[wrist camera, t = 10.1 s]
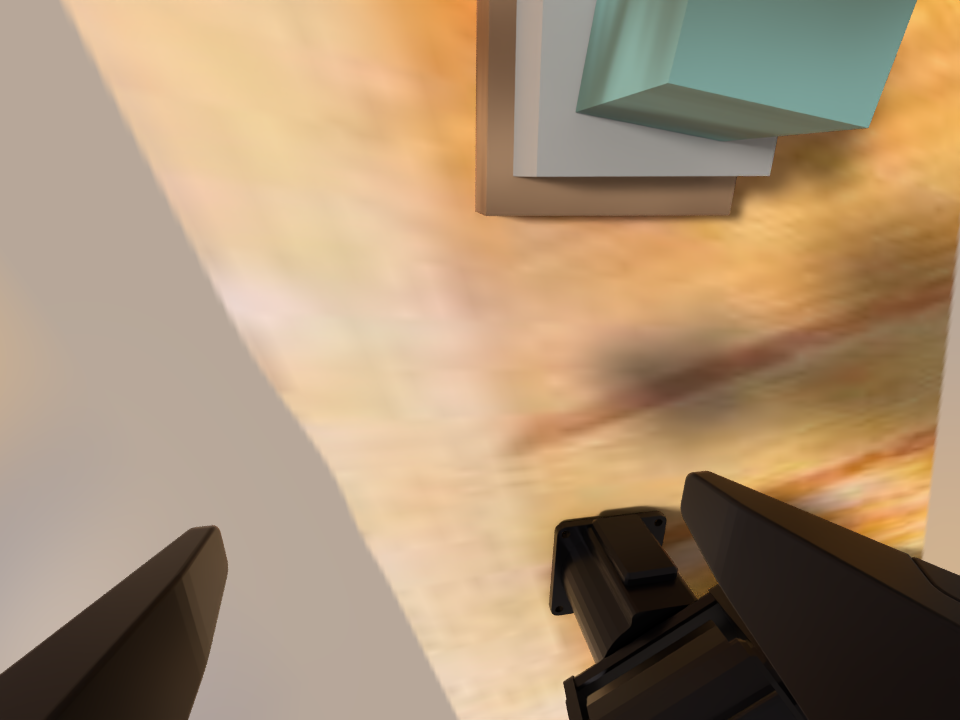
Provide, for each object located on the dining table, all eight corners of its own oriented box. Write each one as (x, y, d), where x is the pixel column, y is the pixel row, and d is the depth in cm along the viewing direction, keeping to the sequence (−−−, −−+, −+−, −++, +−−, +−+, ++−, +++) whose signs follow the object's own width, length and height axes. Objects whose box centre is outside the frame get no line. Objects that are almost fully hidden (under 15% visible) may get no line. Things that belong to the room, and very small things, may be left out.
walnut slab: (686, 210, 22) (729, 215, 19) (472, 210, 20) (486, 215, 18) (729, -61, 18) (789, -102, 16) (474, -88, 17) (491, -140, 14)
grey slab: (713, 175, 19) (769, 176, 16) (513, 176, 17) (536, 176, 15) (756, -86, 16) (833, -141, 13) (519, -109, 14) (549, -176, 12)
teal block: (721, 141, 15) (868, 128, 11) (575, 112, 14) (667, 83, 9) (777, -52, 13) (980, -167, 9) (615, -102, 12) (752, -264, 8)
